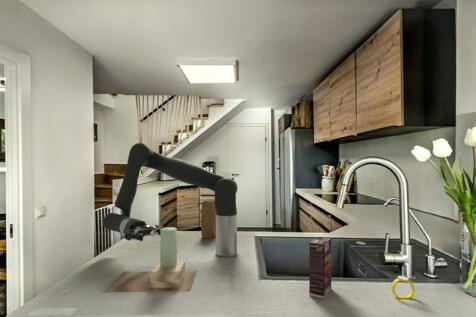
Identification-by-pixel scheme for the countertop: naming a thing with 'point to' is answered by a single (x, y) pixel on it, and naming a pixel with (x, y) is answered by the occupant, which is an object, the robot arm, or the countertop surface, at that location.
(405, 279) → the watch
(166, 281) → the beech brick
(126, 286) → the walnut board
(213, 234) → the block
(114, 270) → the countertop surface
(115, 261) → the countertop surface
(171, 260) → the sage cylinder
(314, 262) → the supplement box
